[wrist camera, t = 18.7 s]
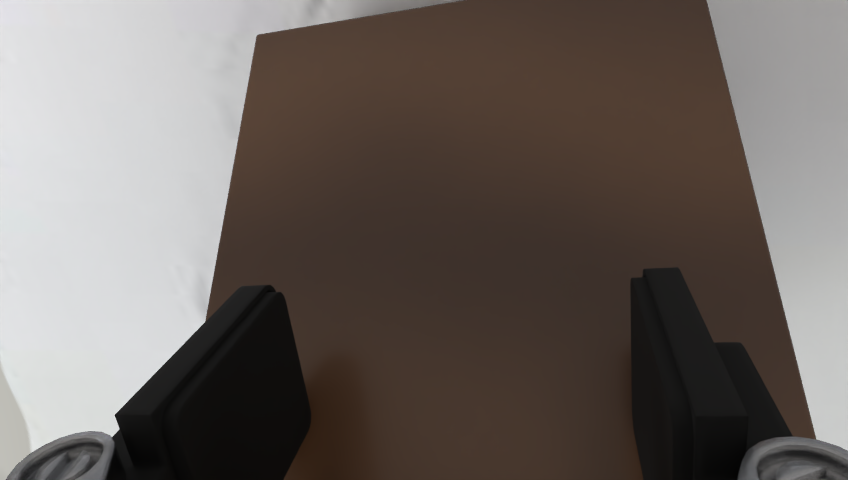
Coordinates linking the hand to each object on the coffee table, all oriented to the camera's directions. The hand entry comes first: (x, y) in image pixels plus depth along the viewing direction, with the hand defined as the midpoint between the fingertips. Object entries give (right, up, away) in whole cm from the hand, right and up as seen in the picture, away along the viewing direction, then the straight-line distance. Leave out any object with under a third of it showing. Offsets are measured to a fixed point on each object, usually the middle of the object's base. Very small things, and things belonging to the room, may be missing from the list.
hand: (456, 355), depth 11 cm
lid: (0, +1, +3) cm, 3 cm away
